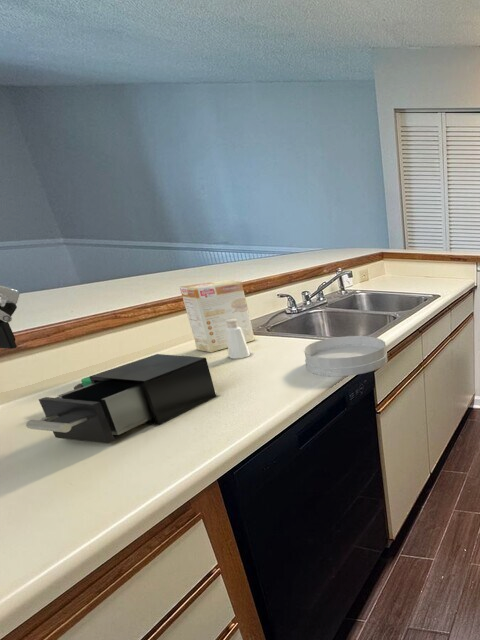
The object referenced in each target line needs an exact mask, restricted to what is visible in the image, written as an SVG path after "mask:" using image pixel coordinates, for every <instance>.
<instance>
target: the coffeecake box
mask: <svg viewBox="0 0 480 640" xmlns="http://www.w3.org/2000/svg"><path fill="white" fill-rule="evenodd" d="M179 290H180V294H181V297H182V300H183V301H182V302H183V304H184V308H185V311H186V314H187V318H188V322H189V325H190V329H191V333H192V336H193V340H194V343H195V347H196V350H197V351H201V352H207V353H213V352H214V353H215V352H217V351H221V350H224V349H228V343H227V334H226V329H227V328H228V326H227V323H226V320H228V319H237V323H238V327H240V328H241V330H242V332H243V335H244V338H245V341H246V343H250V342H253V341H255V340H256V339H255V335H254V330H253V325H252V322H251V316H250V313H249V307H248V303H247V299H246V295H245V291H244V285H243V282H242V281H240V280H234V279H224V280H218V281H210V282H203V283H202V282H201V283H197V284H196V283H195V284H190V285H182V286H179Z"/></svg>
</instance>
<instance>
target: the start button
mask: <svg viewBox="0 0 480 640" xmlns="http://www.w3.org/2000/svg"><path fill="white" fill-rule="evenodd" d="M80 382H81V383H82V384H83V387H84V386H87V385H90V384H92V383H91V380H90V377H89V376H86V377H84V378H81V380H80Z"/></svg>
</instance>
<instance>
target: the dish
mask: <svg viewBox="0 0 480 640" xmlns="http://www.w3.org/2000/svg"><path fill="white" fill-rule="evenodd" d="M386 346H387V345H386V342H385V341H384V340H383V339H382V338H378V337H374V336H365V335H346V336H344V335H343V336H337V337H330V338H324V339H321V340H317V341H314V342H312V343H310V344H308V345H307V346H305V348H304V350H303V352H304V356H305V360H304V362H305V367H306V370H307V371H308V372H310V373H312V374H313V375H318V376H322V377H323V376H324V377H349V376H358V375H362V374H367V373H371V372H373V371H376V370H378V369H381V368H382V367H384V366H386V364H387V363H388V352H387V347H386Z"/></svg>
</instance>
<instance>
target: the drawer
mask: <svg viewBox="0 0 480 640" xmlns="http://www.w3.org/2000/svg"><path fill="white" fill-rule="evenodd" d="M57 397H59V398H56V397H50V396H49V397H48V396H44V397H42V398H39V399H38V401H39V404H40V407H41V409H42V411H43V413H44V415H45V417H44V418H41V419H29V420H28V421H27V422H26V424H25V426H26V428H27V429H29V430H38V431H47V432H52V434H53V435H54V438H55V439H64V440H73V441H82V442H91V443H100V444H110V443H112V442H114V441H115V437H114V436H120V435H121V434H124V433H125V432H128V431H130V430H132V429H134V428H136V427H138V426H141V425H142V424H145V422H147V421H149V420H151V419H153V418H154V417H153V414H152V411H151V408H150V405H149V402H148V399H147V396H146V394H145V391H144V388H143V384H132V383H120V382H108V381H98V382H95V383H92V384H90V385H87V386H84V387H81V388H78V389H75V390H74V389H73V390H70V391H67V392H63V393H61V394H58V395H57Z"/></svg>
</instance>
